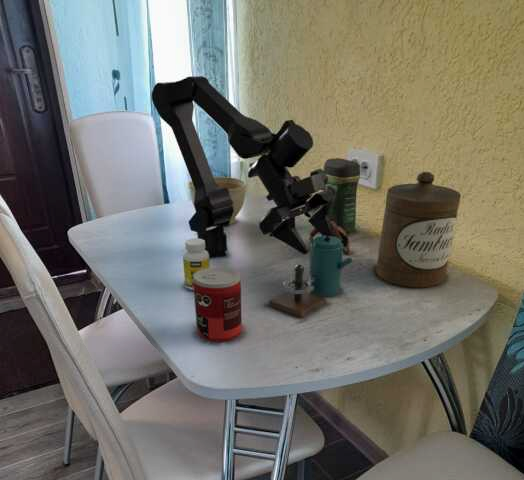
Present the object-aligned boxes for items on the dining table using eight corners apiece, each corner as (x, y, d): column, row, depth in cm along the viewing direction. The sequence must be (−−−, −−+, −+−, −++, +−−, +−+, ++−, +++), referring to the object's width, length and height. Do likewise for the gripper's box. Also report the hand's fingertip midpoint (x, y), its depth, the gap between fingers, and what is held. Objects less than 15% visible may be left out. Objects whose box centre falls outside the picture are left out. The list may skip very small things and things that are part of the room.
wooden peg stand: (294, 292, 104) (295, 254, 100) (326, 303, 100) (329, 263, 95) (269, 305, 99) (269, 265, 95) (301, 318, 95) (303, 276, 90)
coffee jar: (359, 231, 138) (367, 160, 128) (338, 237, 134) (344, 164, 124) (336, 223, 144) (341, 154, 135) (314, 228, 141) (318, 158, 131)
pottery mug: (354, 260, 121) (341, 233, 116) (318, 273, 125) (303, 248, 119) (351, 232, 129) (339, 206, 124) (317, 245, 133) (304, 221, 128)
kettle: (276, 304, 99) (277, 247, 93) (320, 281, 109) (323, 228, 103) (314, 319, 94) (318, 259, 88) (356, 293, 104) (362, 237, 98)
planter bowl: (245, 230, 139) (245, 190, 133) (187, 230, 139) (184, 189, 133) (248, 213, 152) (247, 176, 147) (194, 213, 153) (192, 176, 147)
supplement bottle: (190, 293, 104) (186, 247, 99) (181, 283, 108) (177, 239, 103) (214, 288, 106) (212, 243, 101) (205, 278, 110) (202, 235, 105)
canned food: (197, 323, 93) (193, 267, 87) (240, 321, 94) (239, 265, 88) (196, 344, 86) (191, 285, 81) (242, 342, 87) (241, 283, 81)
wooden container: (401, 292, 104) (418, 183, 93) (363, 267, 116) (374, 167, 105) (459, 282, 109) (482, 177, 98) (417, 258, 121) (433, 162, 109)
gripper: (271, 164, 90) (317, 237, 89) (330, 149, 102) (371, 214, 101) (239, 200, 98) (282, 268, 98) (297, 183, 110) (335, 243, 110)
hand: (319, 247), depth 102 cm, fingers open, 9 cm apart
